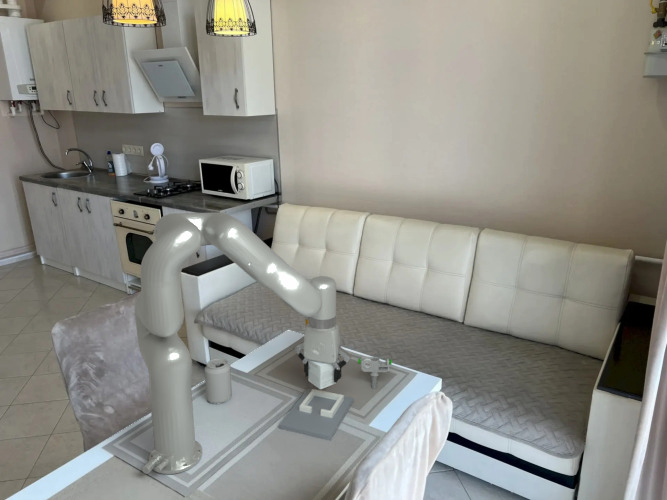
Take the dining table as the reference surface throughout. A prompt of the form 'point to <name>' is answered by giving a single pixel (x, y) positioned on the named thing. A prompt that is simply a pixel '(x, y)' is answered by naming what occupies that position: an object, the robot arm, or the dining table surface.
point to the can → (218, 380)
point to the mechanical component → (374, 367)
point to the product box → (321, 373)
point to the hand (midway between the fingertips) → (322, 377)
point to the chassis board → (317, 414)
